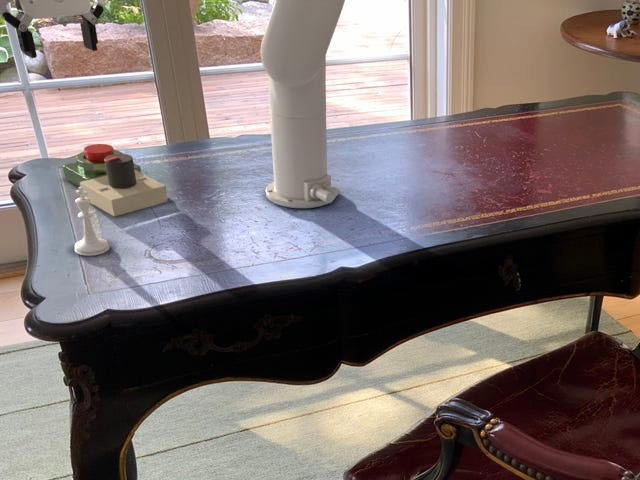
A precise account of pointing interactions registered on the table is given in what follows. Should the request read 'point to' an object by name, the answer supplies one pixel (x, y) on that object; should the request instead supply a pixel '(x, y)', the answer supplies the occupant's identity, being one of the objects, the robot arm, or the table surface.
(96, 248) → the chess piece
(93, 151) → the power button
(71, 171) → the switch box
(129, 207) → the panel
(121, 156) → the knob
